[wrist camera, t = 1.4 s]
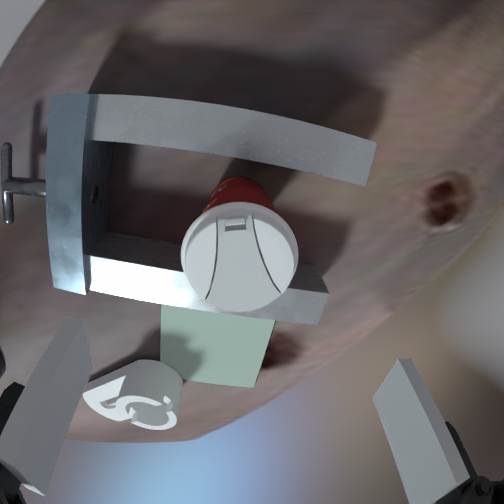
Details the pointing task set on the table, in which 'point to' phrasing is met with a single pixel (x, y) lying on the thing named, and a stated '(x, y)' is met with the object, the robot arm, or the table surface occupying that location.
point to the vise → (173, 136)
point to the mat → (213, 345)
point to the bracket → (138, 394)
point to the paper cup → (239, 249)
